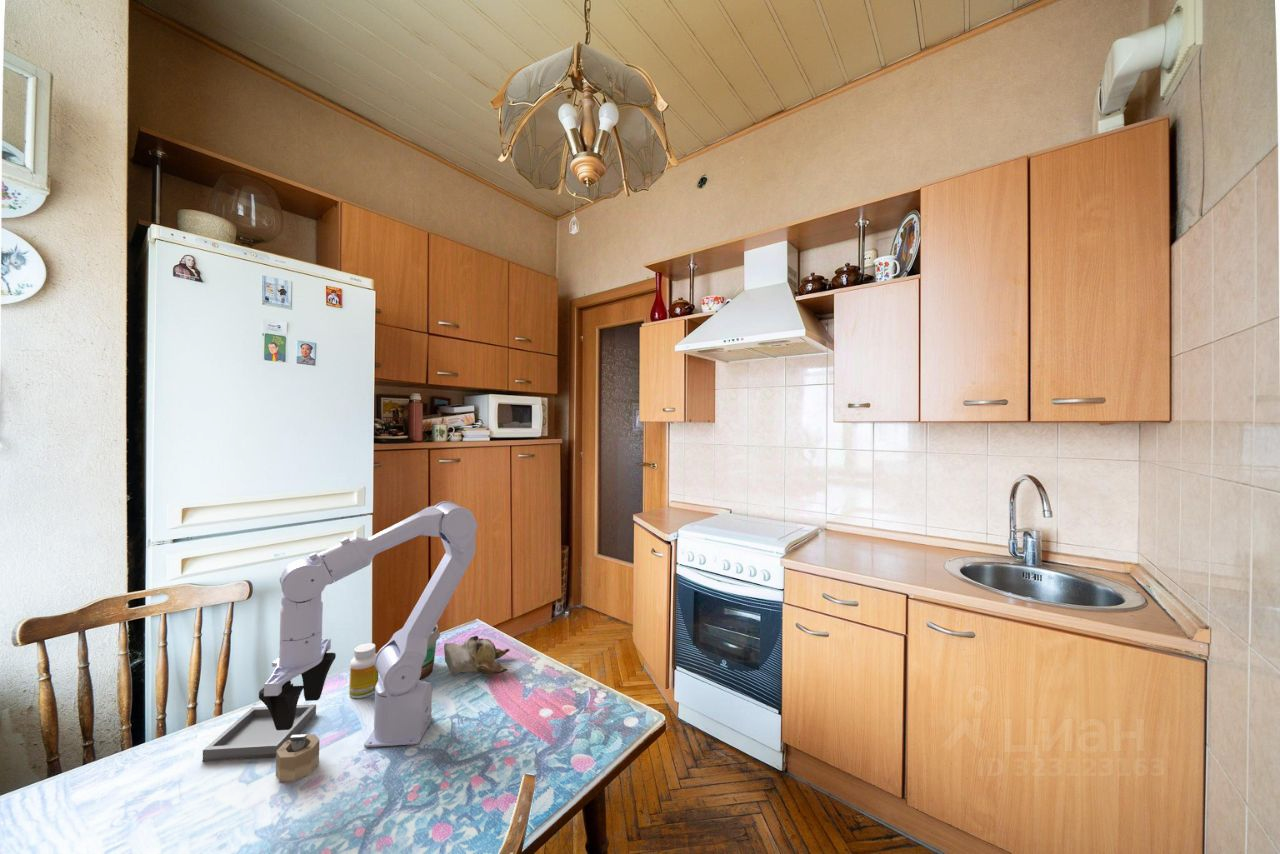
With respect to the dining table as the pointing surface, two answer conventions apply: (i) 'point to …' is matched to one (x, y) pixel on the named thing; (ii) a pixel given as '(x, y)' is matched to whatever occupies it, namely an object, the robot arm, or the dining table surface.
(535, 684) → the dining table surface
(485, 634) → the dining table surface
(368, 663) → the supplement bottle
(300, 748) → the stake
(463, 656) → the ceramic sculpture
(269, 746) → the tray
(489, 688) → the dining table surface
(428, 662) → the food container
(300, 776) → the ring
